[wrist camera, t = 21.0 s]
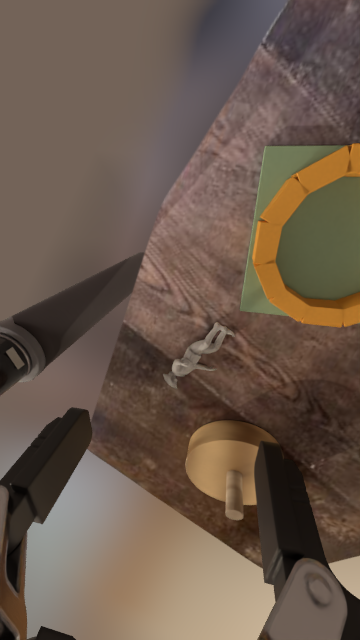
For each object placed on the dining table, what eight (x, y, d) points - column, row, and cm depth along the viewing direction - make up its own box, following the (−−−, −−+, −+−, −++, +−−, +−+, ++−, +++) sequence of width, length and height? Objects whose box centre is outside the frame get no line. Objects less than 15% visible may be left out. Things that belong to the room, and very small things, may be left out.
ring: (243, 308, 31) (244, 317, 29) (269, 150, 24) (273, 143, 21) (391, 323, 29) (405, 334, 26) (472, 149, 21) (504, 141, 19)
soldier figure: (245, 339, 35) (198, 400, 37) (222, 321, 38) (179, 379, 40) (221, 326, 29) (166, 401, 31) (196, 306, 32) (147, 375, 34)
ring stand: (187, 471, 50) (177, 529, 41) (191, 412, 42) (180, 467, 33) (272, 490, 47) (281, 557, 38) (293, 430, 39) (310, 496, 30)
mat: (239, 309, 32) (239, 310, 32) (264, 147, 24) (265, 145, 24) (389, 324, 29) (392, 327, 29) (473, 145, 21) (479, 144, 21)
